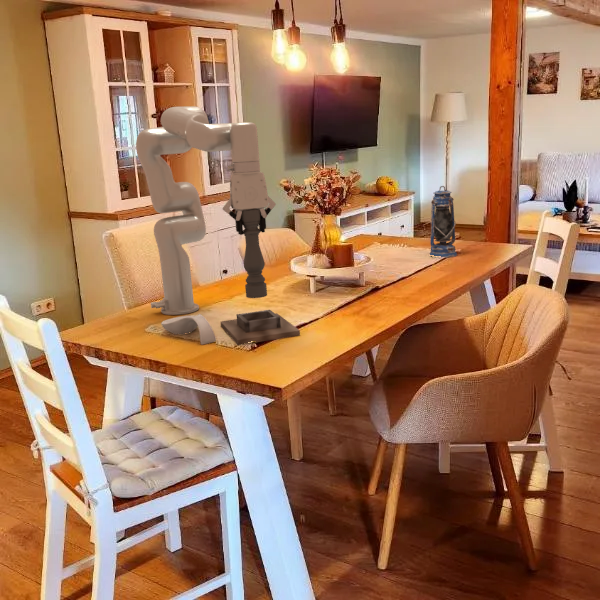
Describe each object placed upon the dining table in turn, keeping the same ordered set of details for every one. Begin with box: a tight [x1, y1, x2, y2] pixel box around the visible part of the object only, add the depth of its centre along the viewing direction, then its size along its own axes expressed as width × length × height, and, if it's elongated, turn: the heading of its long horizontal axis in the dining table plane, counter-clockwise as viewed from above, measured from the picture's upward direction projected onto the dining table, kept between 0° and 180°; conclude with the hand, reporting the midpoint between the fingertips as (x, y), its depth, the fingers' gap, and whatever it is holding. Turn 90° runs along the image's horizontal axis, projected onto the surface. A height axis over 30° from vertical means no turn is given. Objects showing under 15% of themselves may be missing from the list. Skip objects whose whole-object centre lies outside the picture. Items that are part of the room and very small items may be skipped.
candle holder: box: [241, 209, 268, 299], centre depth 197 cm, size 6×6×25 cm
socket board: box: [220, 309, 301, 346], centre depth 202 cm, size 18×22×4 cm
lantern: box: [429, 185, 458, 259], centre depth 298 cm, size 15×12×30 cm
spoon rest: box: [160, 313, 217, 345], centre depth 202 cm, size 24×12×7 cm, turn 35°
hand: (251, 232), depth 196 cm, fingers closed on candle holder, 5 cm apart
